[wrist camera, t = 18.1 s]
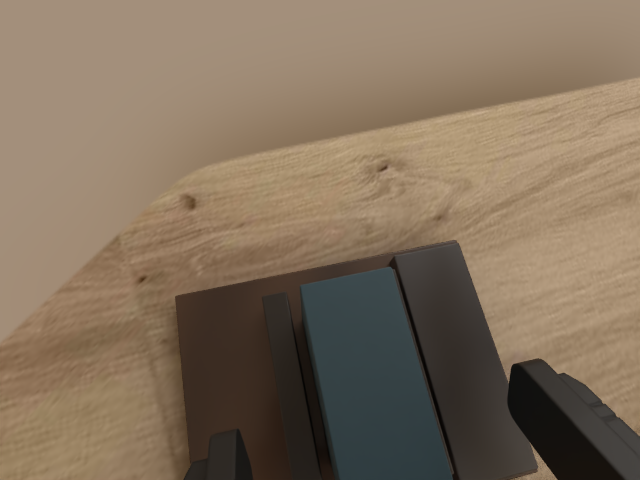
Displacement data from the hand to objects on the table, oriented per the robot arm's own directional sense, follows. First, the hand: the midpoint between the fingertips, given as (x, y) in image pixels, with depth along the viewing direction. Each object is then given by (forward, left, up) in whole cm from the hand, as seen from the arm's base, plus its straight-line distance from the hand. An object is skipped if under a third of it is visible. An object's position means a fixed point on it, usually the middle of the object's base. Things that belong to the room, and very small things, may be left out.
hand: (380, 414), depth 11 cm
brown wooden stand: (0, -1, -10) cm, 10 cm away
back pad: (0, -1, -8) cm, 8 cm away
